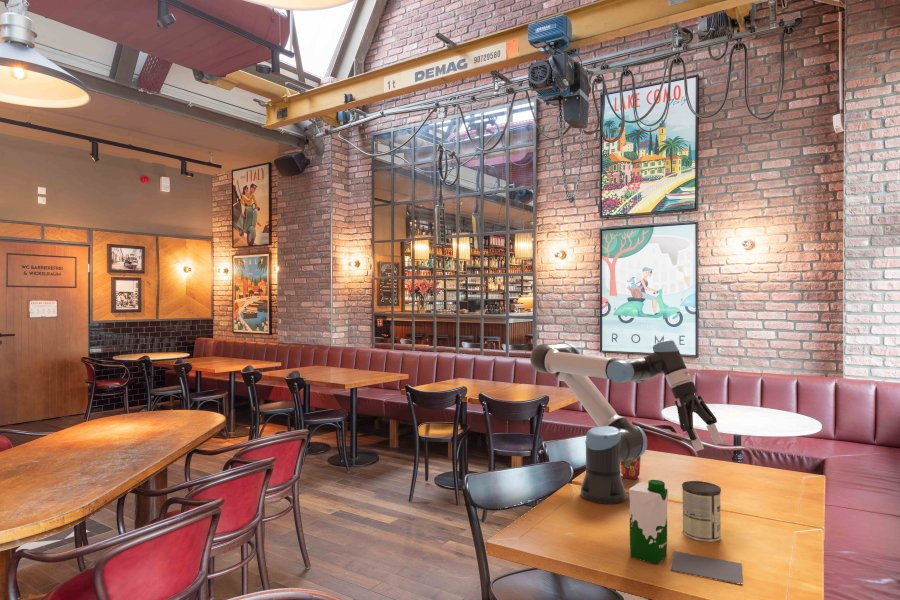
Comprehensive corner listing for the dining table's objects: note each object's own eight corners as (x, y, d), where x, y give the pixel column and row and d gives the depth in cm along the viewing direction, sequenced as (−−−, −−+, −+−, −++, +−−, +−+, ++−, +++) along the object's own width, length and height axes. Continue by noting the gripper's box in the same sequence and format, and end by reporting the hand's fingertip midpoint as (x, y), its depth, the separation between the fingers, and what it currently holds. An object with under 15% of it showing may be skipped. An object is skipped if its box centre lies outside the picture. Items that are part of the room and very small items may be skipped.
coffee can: (680, 525, 167) (680, 479, 168) (718, 530, 164) (718, 482, 164) (683, 539, 158) (683, 489, 158) (723, 544, 154) (723, 493, 155)
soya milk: (659, 567, 140) (659, 488, 141) (625, 557, 146) (625, 480, 146) (671, 555, 147) (671, 480, 147) (637, 546, 153) (637, 473, 153)
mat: (670, 570, 139) (670, 569, 139) (674, 552, 149) (674, 550, 149) (742, 585, 131) (742, 584, 131) (741, 564, 142) (741, 563, 142)
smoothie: (642, 475, 218) (642, 424, 218) (640, 481, 210) (640, 428, 211) (620, 472, 221) (620, 422, 222) (617, 478, 214) (617, 426, 214)
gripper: (672, 383, 175) (702, 449, 167) (708, 378, 191) (737, 438, 183) (652, 391, 180) (680, 456, 172) (689, 385, 196) (716, 444, 188)
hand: (709, 447), depth 178 cm, fingers open, 13 cm apart
